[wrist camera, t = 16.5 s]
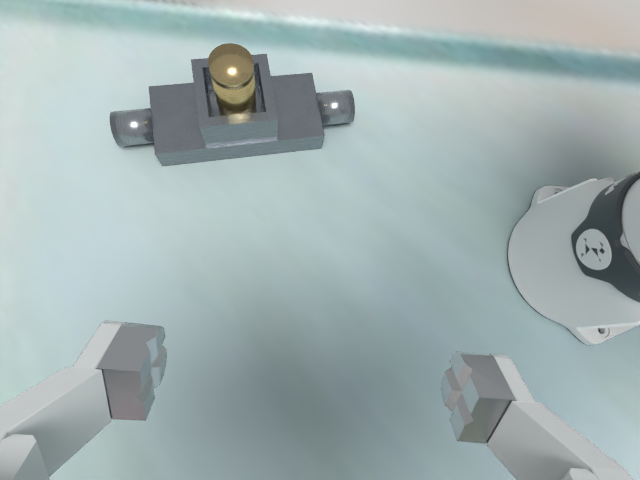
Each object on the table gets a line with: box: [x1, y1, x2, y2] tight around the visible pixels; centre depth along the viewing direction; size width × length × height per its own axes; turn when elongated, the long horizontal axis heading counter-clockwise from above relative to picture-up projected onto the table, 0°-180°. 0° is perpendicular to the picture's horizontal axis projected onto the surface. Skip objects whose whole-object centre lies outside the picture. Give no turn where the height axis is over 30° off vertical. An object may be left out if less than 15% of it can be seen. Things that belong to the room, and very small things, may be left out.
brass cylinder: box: [208, 43, 257, 116], centre depth 40 cm, size 4×4×8 cm
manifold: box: [110, 54, 355, 166], centre depth 44 cm, size 26×8×7 cm, turn 100°
